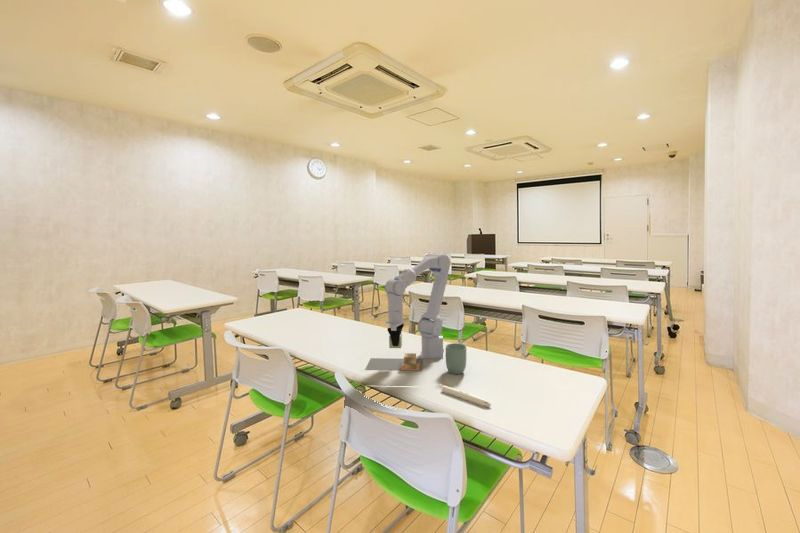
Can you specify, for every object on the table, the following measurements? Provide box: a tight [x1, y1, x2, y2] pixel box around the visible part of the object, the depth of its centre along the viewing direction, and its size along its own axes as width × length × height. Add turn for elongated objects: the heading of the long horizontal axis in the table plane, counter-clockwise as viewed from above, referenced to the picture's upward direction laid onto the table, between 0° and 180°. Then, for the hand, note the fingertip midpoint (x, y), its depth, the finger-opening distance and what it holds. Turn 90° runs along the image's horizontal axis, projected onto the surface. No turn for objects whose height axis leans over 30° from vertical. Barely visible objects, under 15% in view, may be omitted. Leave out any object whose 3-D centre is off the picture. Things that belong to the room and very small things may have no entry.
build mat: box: [364, 357, 424, 372], centre depth 144 cm, size 22×13×1 cm, turn 85°
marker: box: [440, 385, 492, 408], centre depth 114 cm, size 18×2×2 cm, turn 46°
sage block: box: [388, 333, 403, 349], centre depth 142 cm, size 4×4×4 cm
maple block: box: [403, 352, 417, 369], centre depth 141 cm, size 4×4×4 cm
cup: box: [445, 342, 467, 375], centre depth 135 cm, size 8×8×10 cm
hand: (396, 343), depth 142 cm, fingers closed on sage block, 4 cm apart
